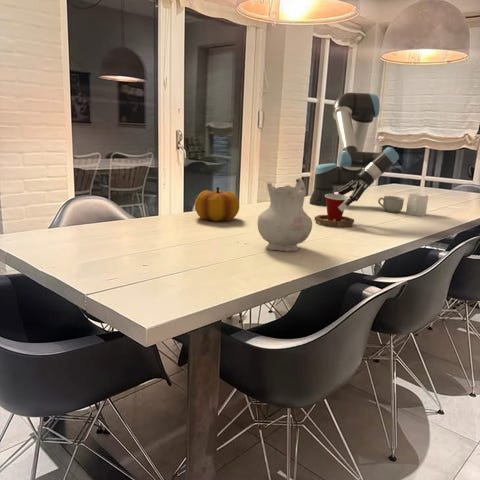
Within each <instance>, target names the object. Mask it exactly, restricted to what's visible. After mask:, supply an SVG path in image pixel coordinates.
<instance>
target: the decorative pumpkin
mask: <svg viewBox="0 0 480 480" xmlns="http://www.w3.org/2000/svg"><path fill="white" fill-rule="evenodd" d="M194 201H195V202H194V209H195V213H196V214H197V215H198V216H199V217H200V219H203V220H205V221H211V222H212V221H213V222H215V223H217V222H221V221H223V222H229V221H231V220H233V219H234V218H235V217H236V216H237V215H238V212H239V211H240V200H239V199H238V197H237V195H236V194H235V193H234V192H233V191H228V190H227V191H222V190H220V187H218V186H217V187H216V190H213V191H211V190H202V191H201V192H200V193H199V194H198V195H197V197H196V199H195V200H194Z"/></svg>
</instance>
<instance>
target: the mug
mask: <svg viewBox="0 0 480 480" xmlns="http://www.w3.org/2000/svg"><path fill="white" fill-rule="evenodd" d="M428 200H429V195H428V194H424V193H416V192H415V193H412V192H411V193H408V195H407V202H406V209H405V210H406V211H405V213H406V214H407V215H411V216H417V217H418V216H419V217H425V216H426V215H427V208H428V202H429V201H428Z"/></svg>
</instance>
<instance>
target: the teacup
mask: <svg viewBox="0 0 480 480" xmlns="http://www.w3.org/2000/svg"><path fill="white" fill-rule="evenodd" d="M381 200H382V201H383V203H381ZM404 201H405V198H403V197H400V196H396V195H395V196H394V195H385V196H384V197H379V198H378V200H377V203H378V204H379V206H381V207H382V208H383V210H385V212H387V213H393V214H394V213H397V214H398V213H399V212H400V211H402V210H403V208H404V207H403V206H404V203H405V202H404Z"/></svg>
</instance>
